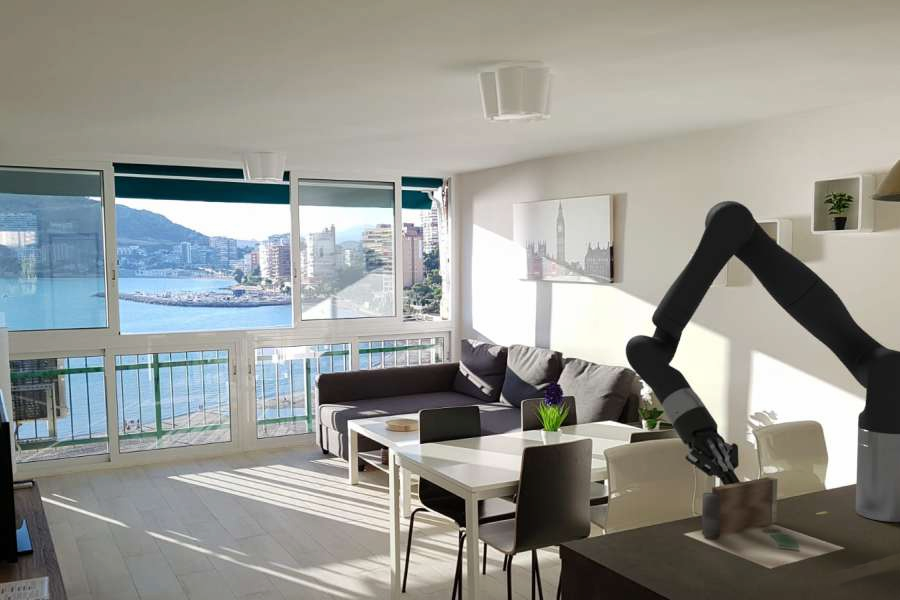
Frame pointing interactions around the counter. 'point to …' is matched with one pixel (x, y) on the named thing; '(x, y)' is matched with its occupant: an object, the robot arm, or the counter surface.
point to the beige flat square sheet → (768, 545)
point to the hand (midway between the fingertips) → (737, 491)
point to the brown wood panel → (739, 506)
